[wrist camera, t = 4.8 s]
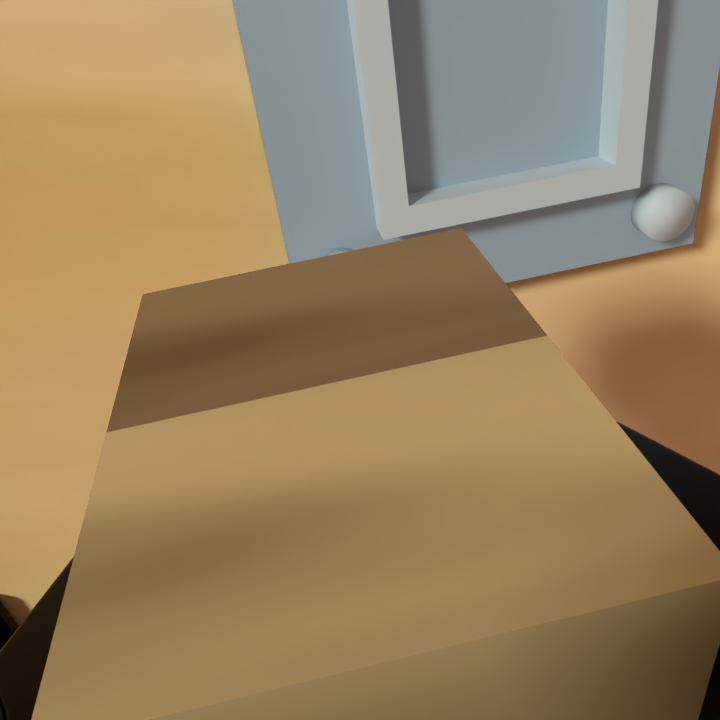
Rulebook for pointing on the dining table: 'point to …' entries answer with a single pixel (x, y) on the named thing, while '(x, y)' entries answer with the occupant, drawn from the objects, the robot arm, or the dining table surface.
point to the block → (374, 515)
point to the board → (485, 123)
